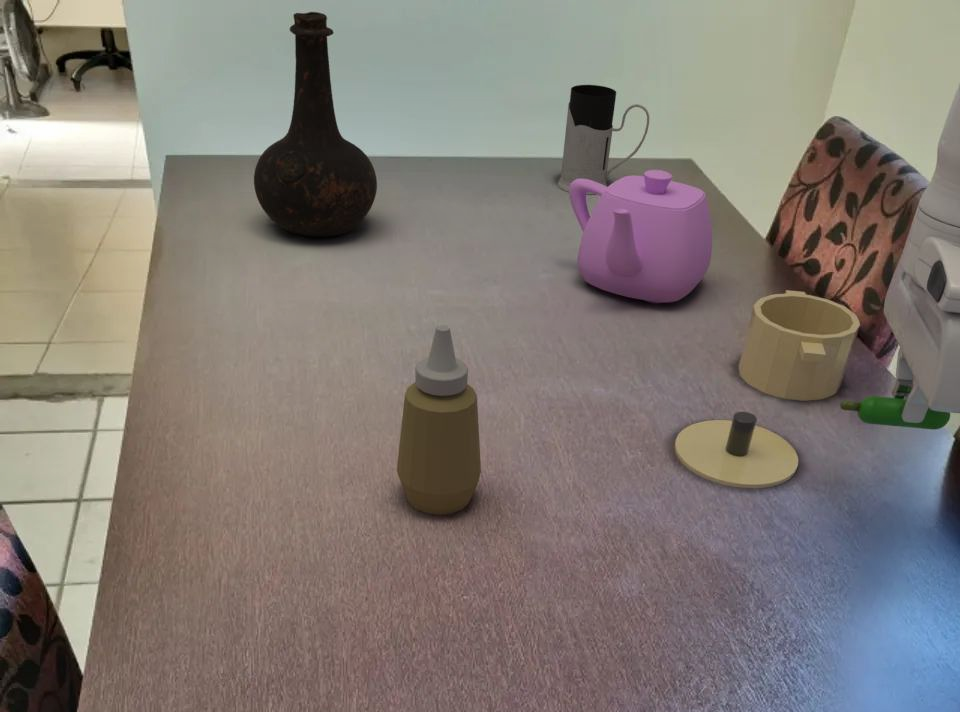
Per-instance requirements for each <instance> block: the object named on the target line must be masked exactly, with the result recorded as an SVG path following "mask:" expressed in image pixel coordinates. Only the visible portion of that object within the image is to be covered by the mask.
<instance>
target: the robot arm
mask: <svg viewBox="0 0 960 712" xmlns="http://www.w3.org/2000/svg"><path fill="white" fill-rule="evenodd" d="M936 151H937V152H936V155H937V156H936V164H935V170H934V171H933V175H932V177H931V180H930V182H929V183H928V185H927V187H926V188H925V189H924V191H923V192H922V194H921V196H920V199H919V201H918V204H917V207H916V210H915V213H914V215H913V219H912V222H911V225H910V229H909V231H908V234H907V236H906V237H907V238H906V240H905V243H904V246H903V249H902V252H901V255H900V258H899V260H898V262H897V264H896V267H895V270H894V272H893V275H892V278H891V280H890V282H889V285H888V288H887V291H886V294H885V298H884V304H883V315H884V317H885V319H886V321H887V323H888V325H889V327H890V330H891V332H892V334H893V336H894V338H895V339H896V342H897V344H898V346H899V349H898V352H897V359H896V369H895V378H894V381H893V384H892V387H891V388H890V393H891V395H892V398H899V399H903V401H902V406H901V407H900V414H901V416H902V419H903V420H904V421H905V422H910V423H920V422H922V421H923V420H924V417H925V415H926V412H927V410H928V407H929V408H930V409H931V410H933V411H939V412H948V413H950V414H960V83H959V84H958V86H957V89H956V91H955V94H954V96H953V99H952V102H951V104H950V108H949V111H948V113H947V116H946V119H945V121H944V125H943V128H942V131H941V134H940V137H939V140H938V143H937V150H936Z"/></svg>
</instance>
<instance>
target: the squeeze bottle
mask: <svg viewBox="0 0 960 712" xmlns="http://www.w3.org/2000/svg"><path fill="white" fill-rule="evenodd" d="M433 335H434V336H433V339H432V343H431V347H430V351H429V355H428V357H425V358H422V359H420V360H419V361H418V362H417V363H416V366H415V367H414V368H415V369H414V371H415V373H414V376H415V380H414V381H415V382H413V383H412V384H410V385H409V386H408V387H407V388H406V391H405V393H404V398H403V399H404V400H403V409H402V416H401V417H402V418H401V427H400V437H399V445H398V456H397V462H396V463H397V464H396V473H397V476H398V479H399V482H400V483H401V486H402V489H403V491H404V495H405V497H406V499H407V503H408V504H409V505H410V506H411V507H412V508H414V509H415V510H417V511H419V512H422V513H424V514H426V515H427V514H428V515H434V516H435V515H436V516H443V515H453V514H454V513H457V512H460V511H462V510H463V509H464V508H466V507H467V506H468V505H469V503H470V501H471V498H472V496H473V494H474V492H475V490H476V487H477V485H478V483H479V481H480V477H481V474H482V464H481V463H482V461H481V447H480V427H479V426H480V425H479V408H478V407H479V406H478V395H477V393H476V391H475V389H474V387H472V386H471V385H470V384H469V383H468V381H469V380H468V378H469V377H468V376H469V368H468V366H467V364H466V363H465V362H464V361H462V360H460V359H459V358H456V354H455V349H454V344H453V338H452V333H451V328H450V326H448V325H446V324H439V325H437V326H435V331H434V334H433Z"/></svg>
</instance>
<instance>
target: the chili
mask: <svg viewBox="0 0 960 712" xmlns="http://www.w3.org/2000/svg"><path fill="white" fill-rule="evenodd" d="M902 401H903V399H899V398H894V397H887V396H877V395H876V396H875V395H871V396H867V397H865V398H863V399H862V400H861V401H850V400H843V401H841V403H840V405H839V406H840V407H839V408H840V409H841V410H842V411H850V412H856V413H857V417H858V419H859V420H860V421H861V422H862V423H864V424H869V425H879V426H880V425H881V426H889V427H901V428H910V429H911V428H913V429H914V428H915V429H924V430H940V429H942V428H944V427H945V426H946V425H947V424H948V423H949V421H950V419H951V413H948V412H939V411H933V410H931V409H930V408H929V407H928V410H927V412H926V415H925V417H924V420H923V421H922V422H920V423H910V422H905V421H904V420H903V419H902V416H901V414H900V407H901V406H902Z"/></svg>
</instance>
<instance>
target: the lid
mask: <svg viewBox="0 0 960 712" xmlns="http://www.w3.org/2000/svg"><path fill="white" fill-rule="evenodd" d="M757 421H758V417H757V416H756V415H755V414H753V413H751V412H748V411H737V412H735V413H734V414H733V417H732V419H731V420H729V419H728V420H727V419H713V420H704V421H699V422H696V423H693V424H690V425H688V426H685V428H683V429H682V430H681V431H679V433H678V434H677V436H676V439H675V442H674V453H675V455H676V457H677V458H678V460H679V462H680V463H681V464H682V465H683V466H684V467H686V469H688V470H689V471H691V472H692V473H694V474H696V475H698V476H699V477H701V478H704V479H705V480H708V481H710V482H713V483H716V484H720V485H723V486H727V487H733V488H739V489H765V488H771V487H776V486H778V485H781V484H783V483H785V482H788V481H789V480H790V479H791V478H793V476H794V475H795V474H796V472H797V470H798V466H799V456H798V454H797V452H796V450H795V449H794V447H793V446H792V445H791V444H790V442H788V441H787V440H786V439H784V438H783V437H782V436H780V435H778V434H777V433H775V432H773V431H771V430H769V429H768V428H767V429H766V428H765V427H762V426H759V425H757Z"/></svg>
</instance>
